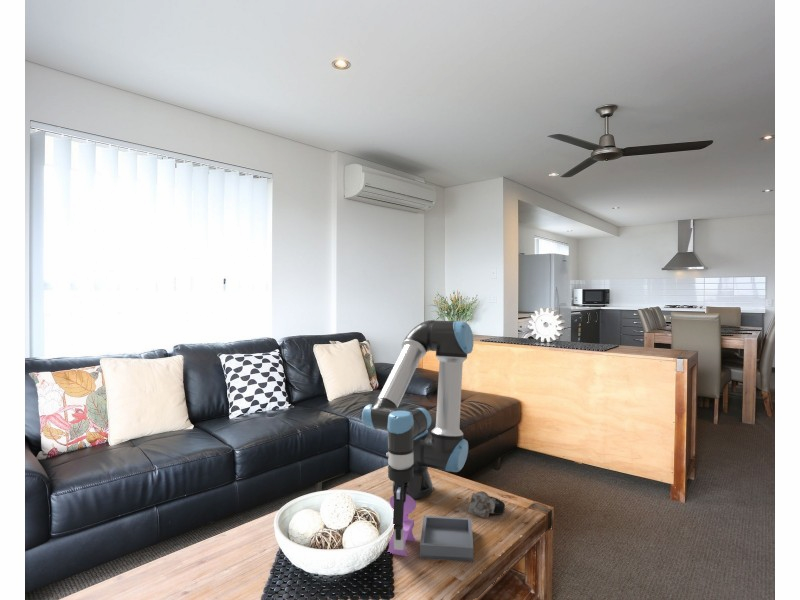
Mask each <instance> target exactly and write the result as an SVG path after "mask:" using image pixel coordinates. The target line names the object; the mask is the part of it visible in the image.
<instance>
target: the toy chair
mask: <svg viewBox="0 0 800 600" xmlns="http://www.w3.org/2000/svg"><path fill="white" fill-rule="evenodd" d="M389 504H390V507H391V509H392V508H393V509H394V495H392V496H391V497H390V499H389ZM416 508H417V501H416V499H413V498H412V497H411V496H409V495H408V494H406V502H404V511H403V526H404V549H403V550H396V549H394V532H393V535H392V537H391V540H390V542H389V541H388V549H387V552H390V553H389V554H391V553H392V554H391V555H397V556H398V555H399V556H403V557H408V556H409V555H408V553H407V549H406V541H410V542H416V539H415V537H414V535H413V528H414V526H415V519H412V518H409V515H410V514H412V513H413V512H414V511H415V509H416ZM393 509H392V510H393Z"/></svg>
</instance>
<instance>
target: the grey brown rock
mask: <svg viewBox="0 0 800 600" xmlns="http://www.w3.org/2000/svg"><path fill="white" fill-rule="evenodd" d="M505 508H506V503H504V502H503V501H502V500H500V499H499V498H497V497H493V496H489V494H488V493H487V492H486V491H477V492H476V493H474V492H473V493H472V494H471V499H470V504H469V507H468V513H469V514H471V515H475V516H477V517H480V518H484V519H485V520H486V519H487V520H488V519H489V516H490V514H498V515H500V514H501V515H502V514H503V513H504V512H505V511H504V510H505Z"/></svg>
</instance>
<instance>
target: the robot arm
mask: <svg viewBox="0 0 800 600" xmlns="http://www.w3.org/2000/svg"><path fill="white" fill-rule="evenodd" d="M471 328H472V327H471V326H470V324H469V323H467V322H465V321H459V320H435V319H429V320H426V321H423V322H420V323H418V324H417V325H416V326H414V328H412V329H411V330H410V331H409V333H407V335H406V336H405V337H404V338H403V339H404V340H403V341H402V343H401V351H400V353H399V355H398V357H397V358H396V362H395V363H394V365H393V367H392V368H391V371H390V372H389V375H388V377H387V379H386V381H385V383H384V385H383V387H382V389H381V390H380V392H379V394H378V397H377V398H376V400H375V402H374V404H373V403H369V404H366V405H365V406H364V408H363V409H362V412H361V422H362V424H363V425H364V427H366V428H369V429H374V430H382V431H386V432H387V445H388V446H387V451H388V452H386V454H385V455H386V457H388V458H387V460H388V461H387V463H388V467H387V478H388V479H389V480H390V481H391V482H392V492H393V496H394V511H393V512H392V513H393V515H392V516H393V517H392V519H393V524H395V525H394V549H396V550H403V549H404V526H403V511H404V502H406V494H408V495H409V496H411V497H412V498H413V499H414V500H416V499H423V498H427V497H428V496H430V495H432V493H433V482H432V479H431V475H430V473H429V469H428V468H430V469H437V470H439V471H440V470H442V471H445V472H450V473H451V472H452V473H458V472H460V471H461V470H462V469H463V468H464V465H465V463H466V461H467V458H468V453H469V443H468V440H466V439H465V438H464V432H463V431H462V430H461V429H460V425H461V424H460V423H461V422H460V420H461V404H462V382H463V381H462V380H463V367H464V366H463V363H464V361H466V360H467V359H468V355H469V354H472V351H473V348H474V336H473V335H474V333H473V330H472V329H471ZM429 351H431V352H435V357H436V358H437V360H438V361H439V362H438V363H439V365H438V379H437V380H438V381H437V384H438V385H437V401H436V416H435V417H436V418H435V419H436V420H435V427H434V428H433V429H432V430H431V431H430V432H431V433H429V431H428V429H430V427H431V425H432V416H431V414H430V412H429V411H428V410H427V409H425V408H423V407H417V408H416V407H415V408H413V409H406V408H400V407H399V405H400V403H401V401H402V399H403V397H404V395H405V393H406V391H407V388H408V386H409V385H410V382H411V379H412V377H413V376H414V373H415V371H416V369H417V367H418V364H419V363H420V360H421V359H422V358H424V357H426V356H425V355H426V354H427V352H429Z"/></svg>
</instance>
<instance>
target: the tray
mask: <svg viewBox="0 0 800 600" xmlns="http://www.w3.org/2000/svg"><path fill="white" fill-rule="evenodd" d="M422 519H423V520H422V528H421V536H420V543H419V552H420V553H419V559H424V560H425V559H426V560H439V561H440V560H441V561H453V562H469V563H470V562H471V563H473V562H474V539H473V525H472V524H473V523H472V518H471V517H453V516H436V515H433V516H432V515H423V517H422Z"/></svg>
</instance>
